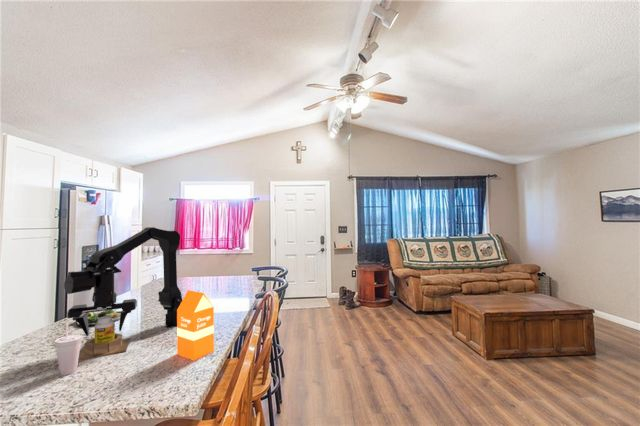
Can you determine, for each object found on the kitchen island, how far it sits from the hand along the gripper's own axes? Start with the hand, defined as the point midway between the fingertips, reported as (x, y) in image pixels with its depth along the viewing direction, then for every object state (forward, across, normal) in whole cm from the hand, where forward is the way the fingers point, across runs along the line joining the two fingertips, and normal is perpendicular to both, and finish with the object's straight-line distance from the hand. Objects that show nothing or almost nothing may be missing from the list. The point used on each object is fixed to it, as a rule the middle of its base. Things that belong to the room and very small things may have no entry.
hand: (104, 333), depth 101 cm
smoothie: (+6, +6, +14) cm, 16 cm away
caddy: (+6, 0, 0) cm, 6 cm away
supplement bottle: (+5, 0, 0) cm, 5 cm away
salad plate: (+6, +9, -40) cm, 41 cm away
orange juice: (+6, -28, +18) cm, 34 cm away
